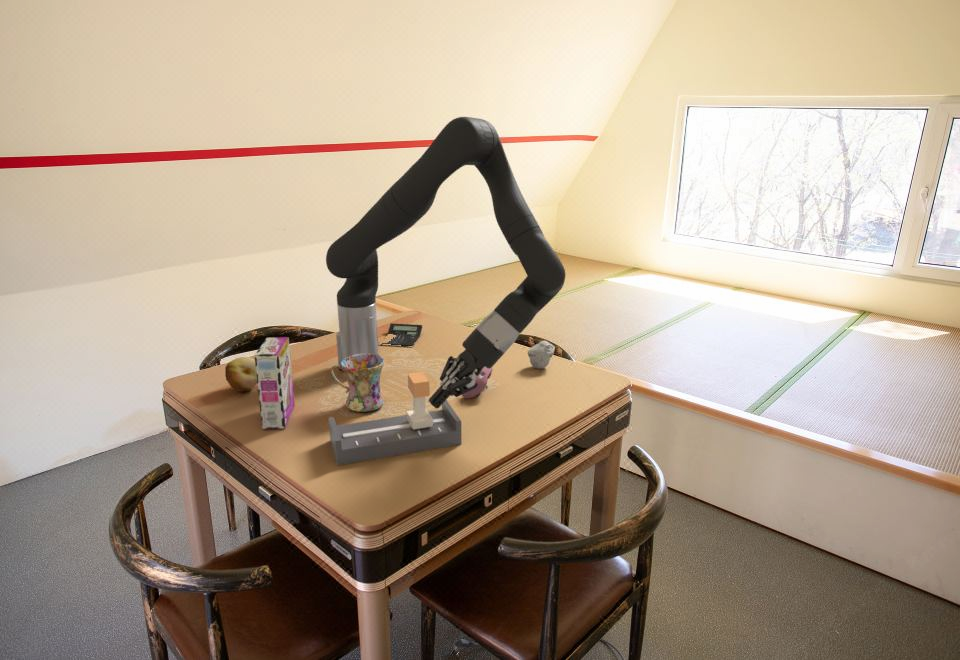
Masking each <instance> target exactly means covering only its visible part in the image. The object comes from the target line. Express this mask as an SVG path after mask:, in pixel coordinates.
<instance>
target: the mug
mask: <svg viewBox="0 0 960 660" xmlns="http://www.w3.org/2000/svg"><path fill="white" fill-rule="evenodd" d="M385 363H386V362H385V358H384V357H383V356H382V355H376V354H356V355H352V356H349V357H346V358H344V359H343V360H342V361H341V365H338V364H334V365H333V366H331V368H330V374H331V376H332V378H333V379H334V381H335V382H336V383H337V384H338V385H339V386H341V387H342V388H343V389H346V391H345V393H346V394H347V393H348V394H347V398H346V401H345V406H346V407H347V408H348V409H349V410H351V411H354V412H359V413H360V412H361V413H362V412H363V413H365V412H371V411H372V412H373V411H375V410H378V409H380V408H381V407H383V405H384V404H385V401H386V399H385V398H384V395H383V393H382V390H381V385H380V384H381V383H380V382H381V381H380V380H381V373H382V369H383V366H384V364H385ZM335 368H338V369H339V368H341V369H343V370H344V374H345V376H346V380H347V383H348V384H347V385H348V386H347V385H345V383H342V382H341V381H340V380H339V379H338V378H337V376H336V375H335V373H334V369H335ZM343 370H342V371H343Z"/></svg>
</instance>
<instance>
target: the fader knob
mask: <svg viewBox="0 0 960 660" xmlns="http://www.w3.org/2000/svg"><path fill="white" fill-rule="evenodd" d="M407 389H408V390H409V391H410V393H411V395H412V409H411V410H406V415H407V419H408V421H409V423H410V425H411V427H412V429H419V428H426V427H432V426H433V418H432V417H431V415H430V414H429V410H428V409H427V408H426V397H431V395H430V391H431V390H430V381H429V379H428V378H427V376H426V374H425V373H424V372H423V371H418V372H411V373H407Z"/></svg>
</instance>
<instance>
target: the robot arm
mask: <svg viewBox="0 0 960 660" xmlns="http://www.w3.org/2000/svg"><path fill="white" fill-rule="evenodd" d="M502 143H503V142H502V140H501V139H500V136H499V133H498V131H497V130H496V127H495V126H494V125H493V124H492V123H491V122H489V120H485V119H483V118H479V117H478V118H477V117H471V116H469V117H468V116H459V117H456V118H453V119H452V120H450V121H449V122H448V123H447V124H446V125H445V126H444V127H443V128H442V129H441V131H440V132H439V133H438V134H437V136H436V137H435V139H433V141H432V142H431V144H430V145H429V146H428V147H427V149H426V150H425V151H424V153H423V154H422V155H421V156H420V157H419V159H418V160H416V161H415V162H414V163H413V164H412V165H411V166H410V167H409V169H407V170H406V172H405V173H404V174H403V175H402V176H401V177H399V178H398V180H396V181H395V182H394V184H392V185H391V186H390V187H389V188H388V189H387V190H386V192H384V194H383V195H381V197H380V198H379V199H378V200H377V201H376V202H375V203H374V204H373V206H371V207H370V209H369V210H368V211H367V212H366V213H365V215H363V216H362V218H361V219H359V221H358V222H357V223H356V224H354V225H353V227H351V228H350V229H349V230H348V231H345V233H344V234H342V235H341V236H339V238H338V239H336V240H334V242H332V243H331V244H330V246H328V249H327V251H326V256H325V264H326V267H327V269H328V272H329V273H330V274H331V275H333V276H334V277H337V278H339V279H345V281H344V283H343V285H342V286H341V288H340V289H338V291H337V292H336V293H337V294H336V303H337V317H338V329H339V330H338V332H336V334H335V337H336V348H337V361H338V362H337V363H338V364H337V365H341V361H342V360H343V359H344V358H346V357H349V356H352V355H356V354H376V355H379V339H378V337H379V336H378V319H377V301H376V299H377V298H376V297H377V296H376V295H377V293H378V289H379V257H378V252H377V249H379V248H381V247H382V246H383V245H385V244H387V243H389V242H391V241H392V240H394V239H396V238H397V237H399V236H401V235H402V234H404V233H405V232H407V231H408V230H410V229H411V228H412V227H413V226H414V225H416V224H417V223H418V222H419V220H420V221H421V219H422V218H423V217H424V216H425V215H426V214H427V213H428V212H429V211H430V209H431V207H432V206H433V204H434V202H435V199H436V197H437V193H438V190H439V189H440V188H441V185H442V184H443V183H444V182H445V181H446V180H447V179H448V178H450V176H452V175H453V174H454V173H456V172H457V171H458V170H459V169H461V168H463V167H466V166H474V167H475V168H476V169H477V170H478V172H479V173H480V175H481V176H482V178H483V179H484V181H485V182H486V184H487V186H488V190H489V193H490V196H491V201H492V207H493V212H494V216H495V220H496V222H497V225H498V227H499V229H500V231H501V233H502V235H503V236H504V239H505V240H506V242H507V245H509V247H510V249H511V251H512V253H514V254H515V256H517V258H518V260H519V262H520V264H521V266H522V267H523V270H524V272H525V273H526V277H525V278H524V280H523V281H521V282H520V284H519V285H518V286H517V288H515V290H513V291H511V292H510V293H508V294H507V295H506V296H504V297H503V299H502V300H501V301H500V302H499V303H498V304H497V306H496V307H495V308H494V309H493V310H492V311H491V312H490V313H489V314H488V315H487V316H485V317H484V318H483V319H482V320H481V321H480V322H479V324H478V325H477V326H476V327H475V328H474V329H473V331H472V332H471V333H469V334H468V336H467V337H466V338H465V340H464V341H462V344H461V345H462V348H464V350H463V351H462V352H461V353H460V354H458V356H457V357H456V358H455V357H453V356H452V355H451V356H449V357H448V358H447V361H446V363H445V366H444V368H443V370H442V371H441V375H440V377H439V381H440V384H439V387H438V388H437V390H436V391H434V393H432V395H430V396H429V398H428V402H429V404H430V405H431V406H432V407H433V408H435V409H439V408H440V407H442V404H443V403H444V402H445V400H448V398H449V397H450V396H451V397H452V396H454V397H455V398H457V397H461V396H462V394H464V393H467V392H469V391H471V390H473V389H475V388H476V387H477V386H478V383H476V382H475V379H476V377H477V376H478V375H479V374H480V372H481V370H482V369H483V367H486V368H488V369H490V368H492V369H493V366H495V364H496V363H497V362H498V361H499V360H500V359H501V358H502V357H503V356H504V354H505V353H506V352H507V351H508V350H509V349H510V348H511V346H512V345H513V344H514V343H515V342H516V340H517V339H518V337H519V336H520V335H521V334H522V332H524V330H525V329H526V328H527V327H528V326H529V324H530V323H531V322H532V321H533V320H534V318H535V316H537V314H538V313H539V312H540V311H541V310H542V309H544V307H546V306H547V305H548V303H550V302H551V301H552V300H553V299H554V298H555V297H556V296H557V294H559V293H560V291H561V290H562V289H563V287H564V284H565V281H566V269H565V267H564V265H563V262H562V261H561V259H560V258H559V256H558V254H557V253H556V251H555V250H554V249H553V247H552V246H551V244H550V243H549V241H548V240H547V239H546V237H545V234H544V233H543V230H542V229H541V227H540V224H539V223H538V220H537V219H536V218H535V216H534V213H533V212H532V210H531V208H530V207H529V204H528V203H527V201H526V200H525V197H524V196H523V194H522V192H521V190H520V187H519V185H518V183H517V181H516V178H515V175H514V172H513V170H512V168H511V165H510V163H509V160H508V158H507V154H506V152H505V149H504V146H503V144H502ZM379 356H380V355H379ZM340 369H341V368H339V367H338V370H340ZM341 371H344V370H343V369H341Z"/></svg>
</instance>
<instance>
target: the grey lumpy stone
mask: <svg viewBox="0 0 960 660" xmlns="http://www.w3.org/2000/svg"><path fill="white" fill-rule="evenodd" d="M555 348H556V347H555V346H554V345H553V344H552V343H550V342H549V341H547V340H542V341H539V342H538V343H536V344H535V345H533V346H532V347H530V348H529V350H527V356H528V358H529V363H530V365H531V366H532V367H533V368H535V369H537V370H538V369H539V370H542V369H545V368H546V367H548V365H549V363H550V360H551V358H553V356H554V353H555V351H556V350H555Z"/></svg>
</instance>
